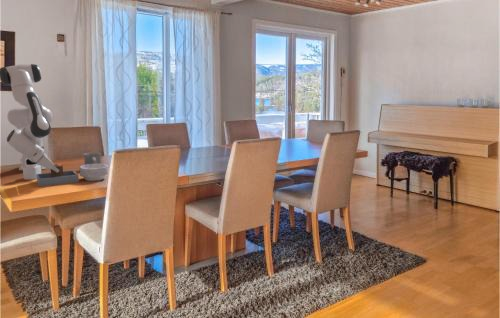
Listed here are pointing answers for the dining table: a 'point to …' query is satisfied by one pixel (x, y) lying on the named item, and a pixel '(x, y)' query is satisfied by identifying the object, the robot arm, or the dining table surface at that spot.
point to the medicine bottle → (31, 169)
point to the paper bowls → (93, 171)
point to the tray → (57, 178)
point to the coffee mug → (92, 158)
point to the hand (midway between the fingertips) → (57, 169)
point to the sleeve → (60, 173)
